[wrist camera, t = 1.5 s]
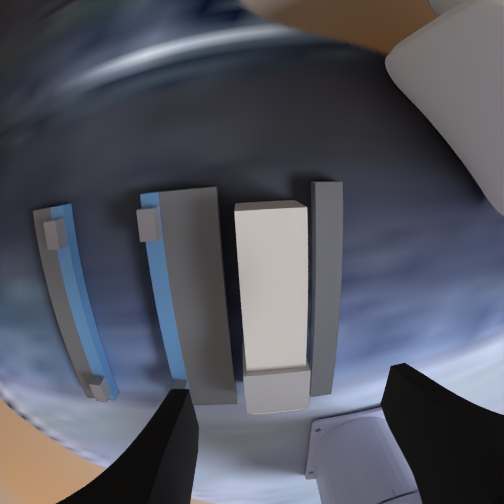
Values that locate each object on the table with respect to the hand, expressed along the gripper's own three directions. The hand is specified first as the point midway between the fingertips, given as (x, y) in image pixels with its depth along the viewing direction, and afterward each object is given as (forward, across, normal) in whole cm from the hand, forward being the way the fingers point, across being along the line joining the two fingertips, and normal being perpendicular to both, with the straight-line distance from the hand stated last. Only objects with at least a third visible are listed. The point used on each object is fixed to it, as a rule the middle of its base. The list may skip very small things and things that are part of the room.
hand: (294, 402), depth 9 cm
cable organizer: (+9, -15, -13) cm, 22 cm away
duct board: (+8, +5, 0) cm, 10 cm away
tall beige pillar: (+9, 0, 0) cm, 9 cm away
